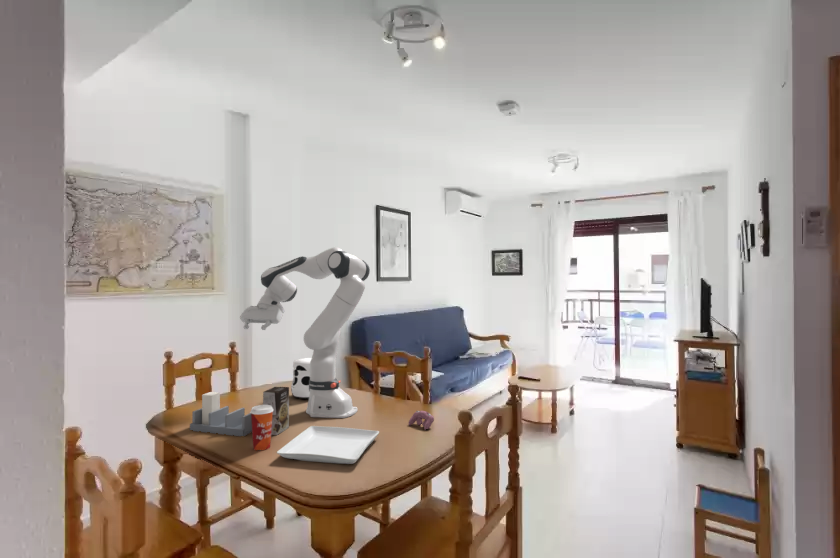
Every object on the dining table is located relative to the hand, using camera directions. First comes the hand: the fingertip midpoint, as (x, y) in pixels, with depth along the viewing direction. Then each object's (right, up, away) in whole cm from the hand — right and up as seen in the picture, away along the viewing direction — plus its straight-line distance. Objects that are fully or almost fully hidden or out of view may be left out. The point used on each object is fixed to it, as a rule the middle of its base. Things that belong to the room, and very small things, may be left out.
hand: (254, 328), depth 204 cm
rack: (+1, -35, -32) cm, 48 cm away
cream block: (-6, -34, -30) cm, 46 cm away
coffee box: (+21, -36, -34) cm, 54 cm away
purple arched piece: (+78, -36, -28) cm, 90 cm away
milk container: (+22, -36, +15) cm, 45 cm away
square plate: (+46, -36, -53) cm, 79 cm away
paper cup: (+22, -36, -51) cm, 66 cm away
